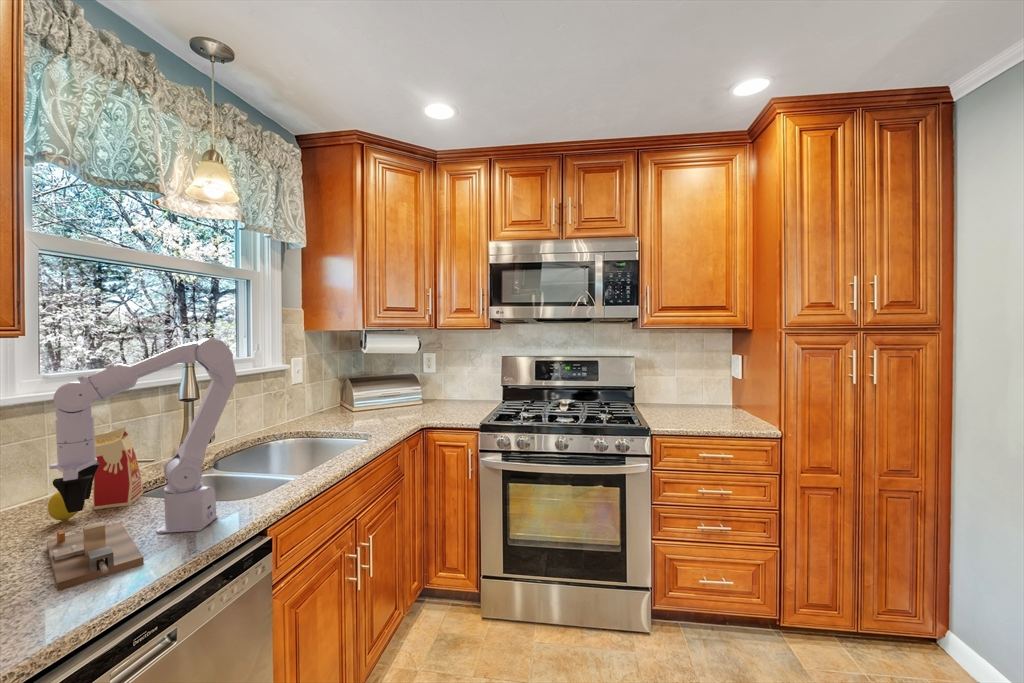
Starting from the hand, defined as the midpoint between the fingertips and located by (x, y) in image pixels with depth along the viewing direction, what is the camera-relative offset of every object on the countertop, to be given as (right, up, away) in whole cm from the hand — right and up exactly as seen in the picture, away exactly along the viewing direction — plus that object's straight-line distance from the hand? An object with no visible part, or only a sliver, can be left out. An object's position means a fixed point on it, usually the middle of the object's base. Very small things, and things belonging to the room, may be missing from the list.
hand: (79, 505), depth 95 cm
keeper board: (+5, -10, -2) cm, 11 cm away
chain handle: (+8, -8, -8) cm, 14 cm away
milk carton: (-16, -9, +27) cm, 32 cm away
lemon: (-17, -9, +15) cm, 25 cm away
